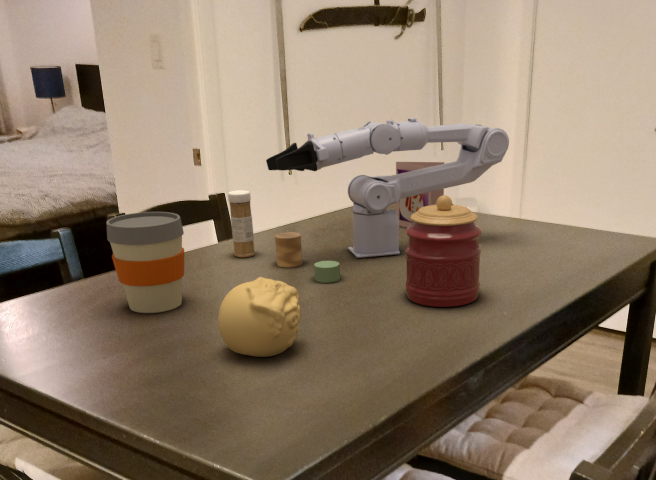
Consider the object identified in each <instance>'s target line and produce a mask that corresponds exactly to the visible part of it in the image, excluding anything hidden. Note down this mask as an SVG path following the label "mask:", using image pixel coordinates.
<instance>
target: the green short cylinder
mask: <svg viewBox="0 0 656 480" xmlns="http://www.w3.org/2000/svg"><path fill="white" fill-rule="evenodd" d="M313 270H314V281H315V282H317V283H322V284H329V283H336V282H339V281H340V279H341V274H340V271H341V270H340V263H339V262H338V261H335V260H321V261H317V262H315V263H314V264H313Z"/></svg>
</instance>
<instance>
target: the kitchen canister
mask: <svg viewBox="0 0 656 480" xmlns="http://www.w3.org/2000/svg"><path fill="white" fill-rule="evenodd" d="M478 218H479V217H478V214H477V213H475V212H473V211H471V209H470V208H469V207H467V206H463V205H459V204H453V200H452V197H450V196H449V195H443V196H440V197H439V198H438V199H437V202H436V205H430V206H425V207H422V208H420V209H419V210H418V211H417V212H415V213H414V214H412V215H411V220H412V221H413V223H412V225H410V226H409V227H408V228H407V227H406V228H405V234H406V235H407V237H408V244H407V246H406V248H405V253H406V281H405V291H406V297H407V299H409V301H411V302H413V303H416V304H417V305H422V306H426V307H435V308H436V307H437V308H447V307H448V308H449V307H450V308H451V307H460V306H464V305H469V304H471V303H473V302H474V301H476V300H477V299H478V297H479V292H480V286H481V282H480V267H481V265H480V264H481V262H480V261H481V254H482V248H481V246H480V245H479V243H480V242H479V241H480V240H479V238H480V236H481V235H482V234H483V229H482V228H481V227H480V226H479V225H477V223H476V221H477V220H478Z"/></svg>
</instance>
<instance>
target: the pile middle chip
mask: <svg viewBox="0 0 656 480" xmlns="http://www.w3.org/2000/svg"><path fill="white" fill-rule="evenodd" d="M274 240H275V242H274V243H275V252H276V251H277V252H281V253H293V252H298V251H300V250H301V249H302V248H303V247H302V235H301V233H299V232H295V231H286V232H284V231H283V232H278V233H277V234H275V235H274ZM302 250H303V249H302Z"/></svg>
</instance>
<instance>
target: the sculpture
mask: <svg viewBox="0 0 656 480" xmlns="http://www.w3.org/2000/svg"><path fill="white" fill-rule="evenodd" d="M299 300H300V296H299V291H298V290H297V288H296V287H294V286H292V285H289V284H288V283H286V282H284V281H281V280H274V279H272V278H266V277H262V276H258V277H257V278H256V279H253V280H251V281H246V282H243V283H240V284H239V285H236V286H234V287H233V288H232V289H230V290H229V291H228V293H226V295H224V298H223V299H222V302H221V303H220V306H219V311H218V321H217V322H218V330H219V334H220V336H221V339H222V340H223V343H224V344H225V345H226V346H227V348H228V349H230V351H232V352H234V353H237V354H240V355H244V356H249V357H256V358H257V357H258V358H268V357H275V356H278V355H279V354H282V353H283V352H285V351H286V350H287V349H288V348H290V347H292V346H293V344H294V342H295V341H296V339H297V338H298V336H299V335H298V333H299V332H300V330H301V328H300V325H299V323H300V321H301V306H300V305H301V304H299Z"/></svg>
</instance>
